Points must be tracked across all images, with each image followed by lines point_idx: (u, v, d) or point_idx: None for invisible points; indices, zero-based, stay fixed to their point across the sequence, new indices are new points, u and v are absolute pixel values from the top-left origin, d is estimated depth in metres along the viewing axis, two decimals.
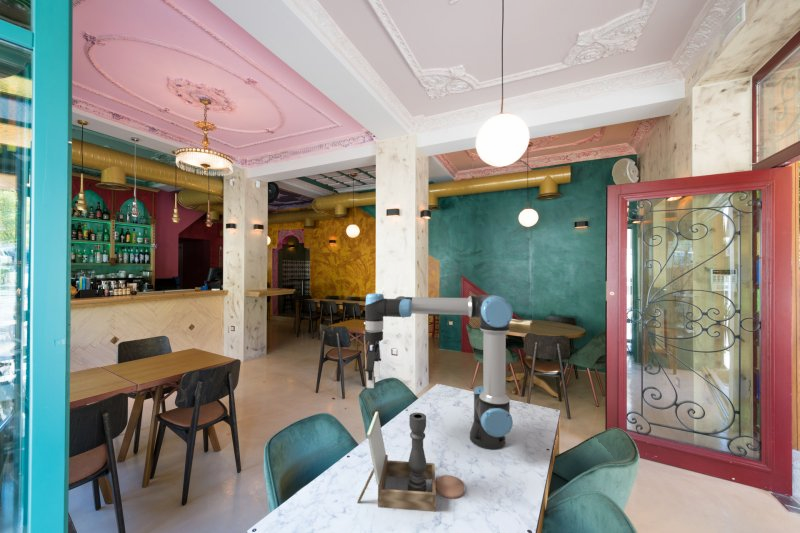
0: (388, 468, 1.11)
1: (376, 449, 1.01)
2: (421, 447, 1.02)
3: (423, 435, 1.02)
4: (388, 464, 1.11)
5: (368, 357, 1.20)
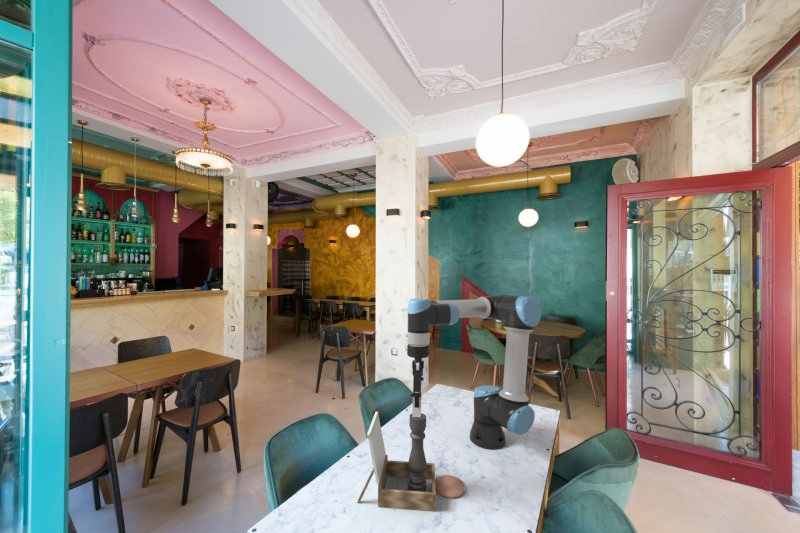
0: (388, 468, 1.11)
1: (376, 449, 1.01)
2: (421, 447, 1.02)
3: (423, 435, 1.02)
4: (388, 464, 1.11)
5: (414, 379, 0.96)
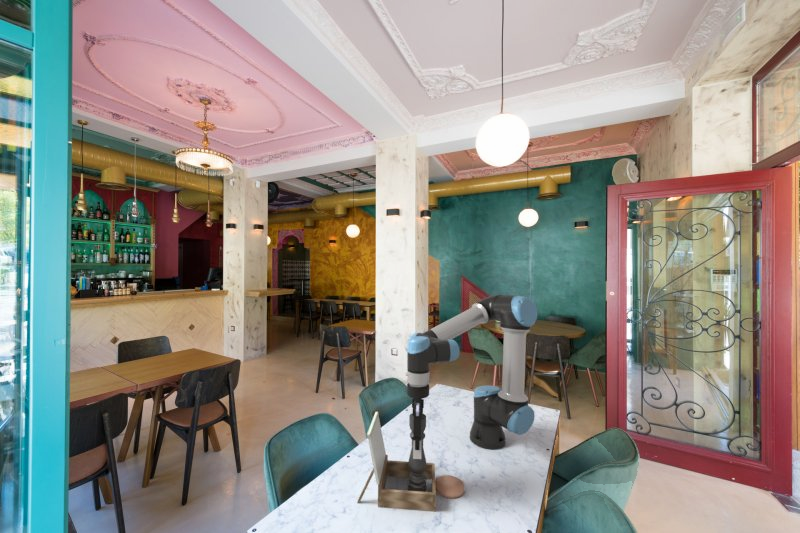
0: (388, 468, 1.11)
1: (376, 449, 1.01)
2: (421, 447, 1.02)
3: (423, 435, 1.02)
4: (388, 464, 1.11)
5: (415, 424, 0.98)
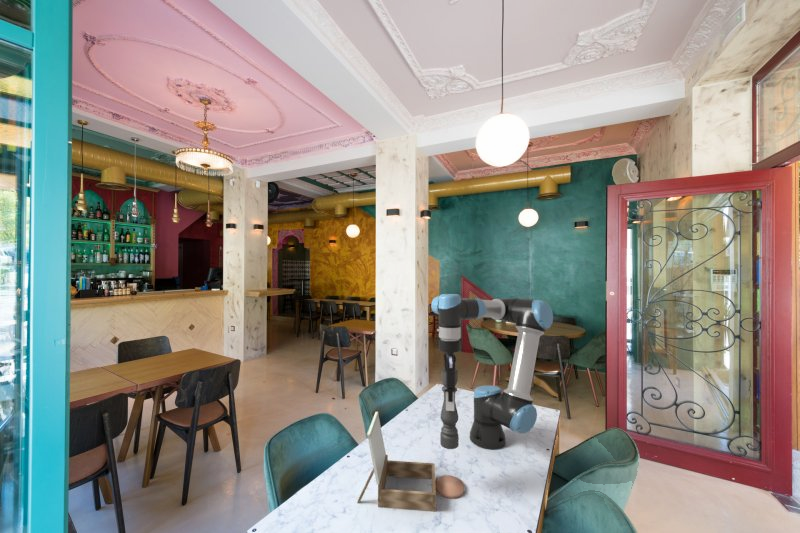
0: (388, 468, 1.11)
1: (376, 449, 1.01)
2: None
3: (455, 388, 1.05)
4: (388, 464, 1.11)
5: (448, 376, 1.00)
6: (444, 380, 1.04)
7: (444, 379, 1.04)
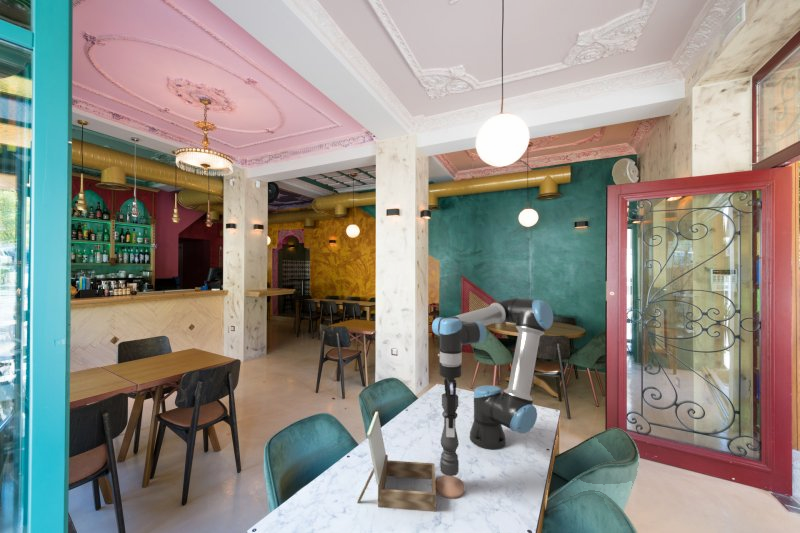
0: (388, 468, 1.11)
1: (376, 449, 1.01)
2: None
3: (455, 414, 1.05)
4: (388, 464, 1.11)
5: (449, 402, 1.00)
6: (445, 406, 1.04)
7: (445, 405, 1.04)
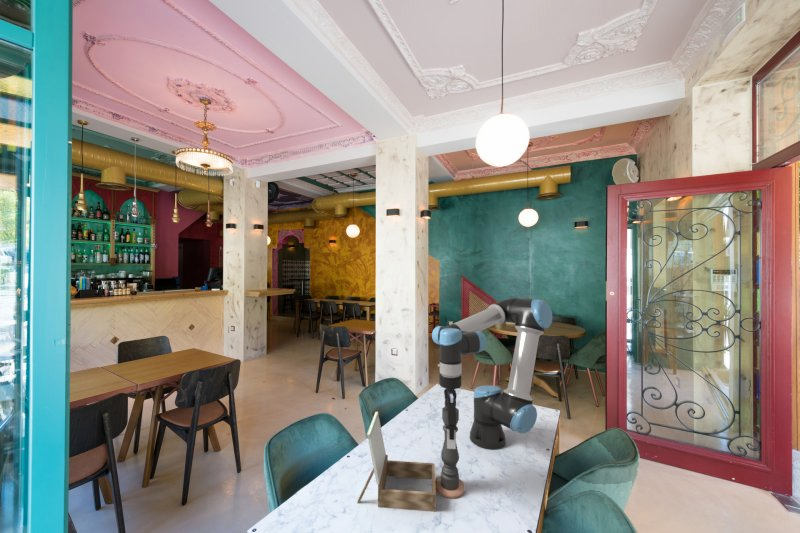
0: (388, 468, 1.11)
1: (376, 449, 1.01)
2: None
3: None
4: (388, 464, 1.11)
5: (449, 411, 0.98)
6: (445, 420, 1.04)
7: (445, 419, 1.04)
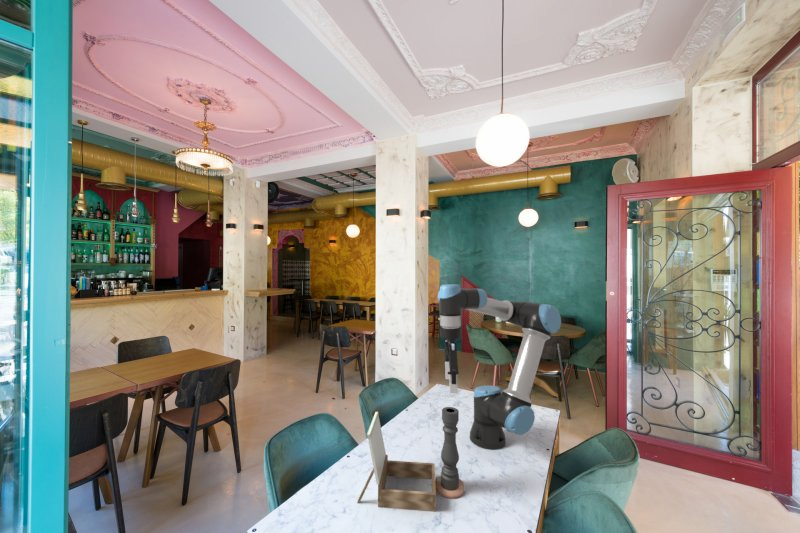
0: (388, 468, 1.11)
1: (376, 449, 1.01)
2: (454, 440, 1.04)
3: (456, 429, 1.04)
4: (388, 464, 1.11)
5: (451, 358, 1.04)
6: (445, 421, 1.04)
7: (445, 420, 1.04)
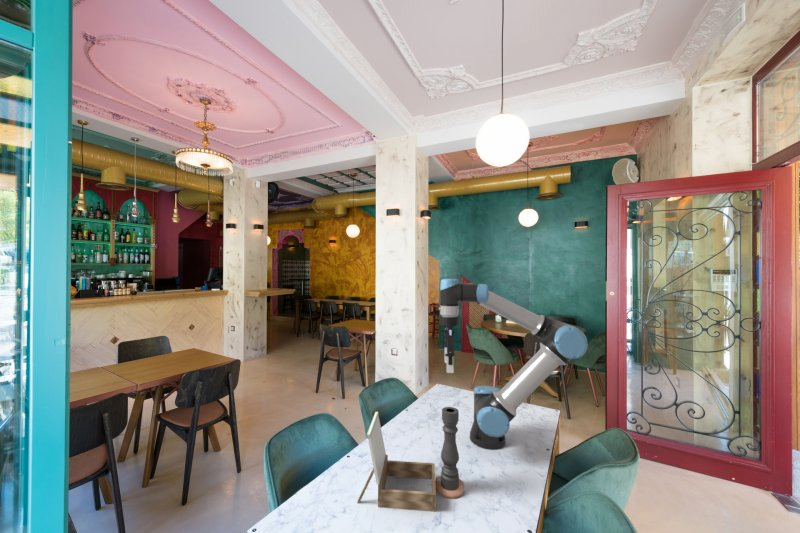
0: (388, 468, 1.11)
1: (376, 449, 1.01)
2: (454, 440, 1.04)
3: (456, 429, 1.04)
4: (388, 464, 1.11)
5: (448, 341, 1.19)
6: (445, 420, 1.04)
7: (445, 419, 1.04)
